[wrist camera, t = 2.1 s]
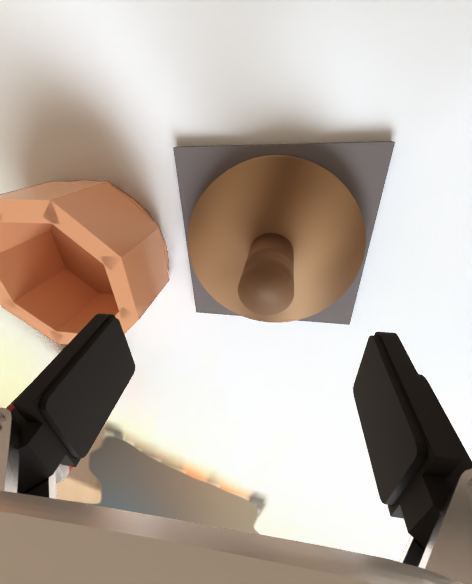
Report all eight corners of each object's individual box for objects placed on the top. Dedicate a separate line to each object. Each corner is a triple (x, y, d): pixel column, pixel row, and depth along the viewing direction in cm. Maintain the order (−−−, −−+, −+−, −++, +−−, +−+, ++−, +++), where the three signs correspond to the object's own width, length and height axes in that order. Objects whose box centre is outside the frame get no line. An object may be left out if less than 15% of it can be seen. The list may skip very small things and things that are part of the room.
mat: (391, 141, 15) (394, 142, 15) (348, 320, 22) (349, 324, 22) (176, 146, 17) (173, 147, 17) (198, 308, 24) (196, 312, 24)
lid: (382, 152, 15) (429, 168, 10) (343, 319, 22) (360, 380, 16) (182, 156, 17) (135, 171, 12) (201, 307, 24) (176, 360, 18)
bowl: (154, 179, 19) (105, 200, 14) (177, 306, 25) (149, 353, 20) (21, 180, 21) (-65, 198, 16) (72, 298, 27) (21, 339, 22)
